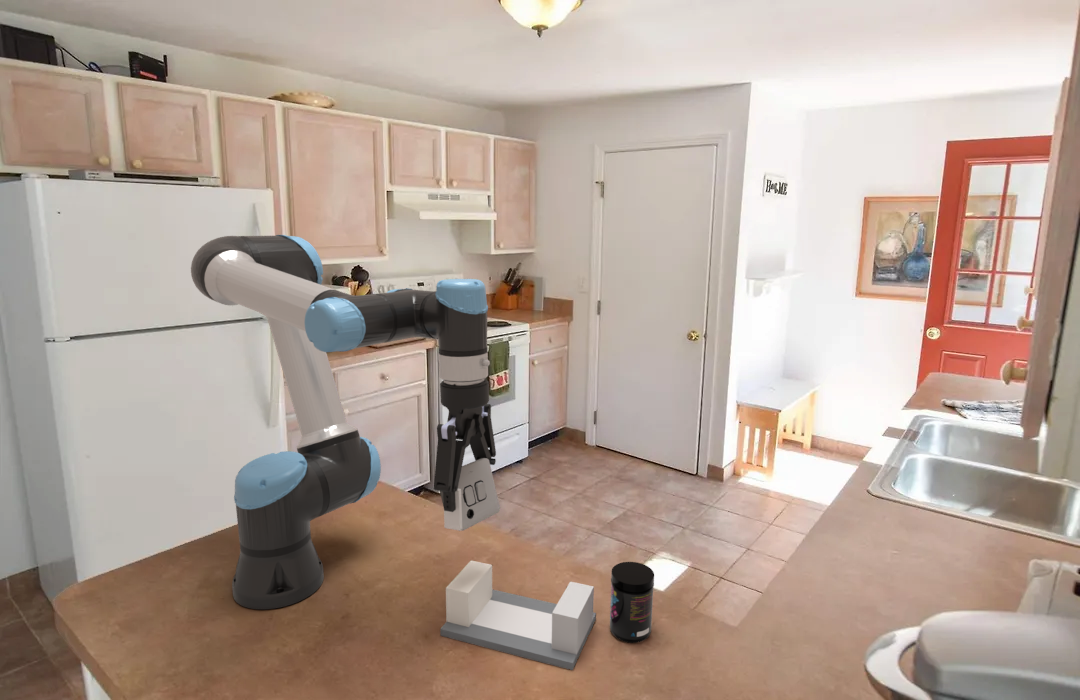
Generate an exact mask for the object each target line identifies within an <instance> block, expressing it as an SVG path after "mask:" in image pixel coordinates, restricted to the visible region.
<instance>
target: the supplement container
mask: <svg viewBox="0 0 1080 700" xmlns="http://www.w3.org/2000/svg"><path fill="white" fill-rule="evenodd" d="M610 575H611V576H610V577H611V578H610V582H611V584H610V586H611V587H610V607H609V608H610V609H609V612H610V613H609V629H610V631H611V633H612V636H614V637H615V638H616V639H618V640H619V641H621V642H624V643H628V644H629V643H630V644H638V643H641V642H644V641H646V640H647V639H648V638H649V637H650V635H651V633H652V624H653V623H652V621H653V601H654V588H655V587H654V586H655V572H654V571H653V569H652V568H650V566H648V565H646V564H644V563H640V562H637V561H623V562H619V563H617V564H615V565H614V566H613V567H612V568H611V574H610Z"/></svg>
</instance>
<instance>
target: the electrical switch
mask: <svg viewBox="0 0 1080 700" xmlns="http://www.w3.org/2000/svg"><path fill="white" fill-rule="evenodd" d="M491 466H492V465H490V462H489V460H488V459H487V458H481V459H479V460H476V461H475V460H474V461H472V462H470V463H467V464H464V465H462V469H461V474H460V479H459V484H458V488H459V489H461V501H462V529H461V530H460V531H459V530H457V531H459V532H462V531H465V530H467V529H469V528H472V527H473V526H475V525H477V524H479V523H481V522H482V521H485V520H486V519H488V518H490V517H492V516H494V515H496V514H498V513H499V512H500V509H501V506H500V501H499V497H498V492H497V489H496V484H495V480H494V475H493V472H492V468H491ZM439 494H440V498H441V504H442V507H443V508H444V502H443V491H439Z"/></svg>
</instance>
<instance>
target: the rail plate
mask: <svg viewBox="0 0 1080 700" xmlns="http://www.w3.org/2000/svg"><path fill="white" fill-rule="evenodd" d="M594 593H595V586H592V585H588V584H583V583H579V582H576V581H575V582H574V581H569V583H568V584H567V587H566V588H565V590H564V591H563V593H562V595H561V597H560V598H559V600H558V602H557V603H554V602H551V601H550V602H549V601H545V600H541V599H537V598H532V597H528V596H523V595H520V594H519V595H518V594H515V593H510V592H505V591H501V590H497V589H493V565H492V564H490V563H484V562H482V561H481V562H480V561H475V560H471V559H470V561H469V562H468V563H467V564H466V565H465V566H464V567H463V569H462V570H461V571H460V572H459V573H458V574H457V575H456V576H455V577H454V579H452V581H451V582H449V584H448V585H447V586H446V587H445V607H446V608H445V611H446V615H445V617H446V619H445V620H446V621H445V623H444V624H443V625H442V626H441V628H440V637H444V638H449V639H451V640H456V641H459V642H463V643H467V644H471V645H475V646H479V647H483V648H486V649H489V650H494V651H498V652H502V653H505V654H508V655H509V654H510V655H513V656H518V657H521V658H523V659H528V660H531V661H535V662H536V661H537V662H539V663H543V664H547V665H550V666H555V667H559V668H562V669H565V668H566V669H567V670H569V669H570V671H573V670H574V669H575V666H576V663H577V662H578V660H579V657H580V655H581V653H582V650H583V649H584V647H583V646H585V644H586V641H587V640H588V638H589V636H588V635H590V633H591V631H592V630H593V626H594V625H593V624H595V623H596V620H597V612H594V595H595V594H594ZM594 622H595V623H594ZM587 637H588V638H587ZM577 659H578V660H577Z"/></svg>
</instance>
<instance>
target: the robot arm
mask: <svg viewBox="0 0 1080 700" xmlns="http://www.w3.org/2000/svg"><path fill="white" fill-rule="evenodd" d="M323 268H324V267H323V263H322V259H321V257H320V255H319V254H318V252H317V249H316V248H315V247H314V246H313V245H312V244H311V243H310V242H309V241H308V240H305V239H304V238H302V237H301V236H294V235H286V234H276V235H240V236H239V235H224V236H221V237H216V238H214V239H211V240H210V241H207V242H206V243H205V244H203V245H202V246H201V247H200V248H198V249H197V251H196V252H195V254H194V256H193V258H192V261H191V265H190V273H191V278H192V282H193V283H194V286H195V288H196V289H197V290H198V291H199V292H200V293H201V294H202V295H203V296H205V297H207V298H208V299H209V300H211V301H214V302H216V303H219V304H221V305H225V306H237V305H240V306H242V307H245V308H247V309H248V310H252V311H254V312H257V313H259V314H261V315H263V316H264V317H265V318H266V319H267V322H268V325H269V329H270V331H271V334H272V338H273V343H274V346H275V349H276V353H277V355H278V359H279V363H280V366H281V370H282V372H283V376H284V379H285V382H286V386H287V390H288V392H289V397H290V400H291V403H292V407H293V410H294V415H295V417H296V420H297V424H298V427H299V431H300V434H301V436H300V437H301V438H300V440H299V442H298V444H297V445H296V451H290V450H289V451H288V450H287V451H286V450H285V451H279V452H278V453H275V452H272V453H267V454H264V455H262V456H259V457H256V458H255V459H253V460H250V461H249V462H247V463H246V464H245V465H244V466H242V467H241V468H240V470H238V472H237V475H236V476H235V479H234V497H233V501H234V503H235V510H236V519H237V529H238V540H239V552H240V553H239V555H238V560H237V563H236V569H235V574H234V575H233V579H232V582H231V584H232V585H231V589H232V596H233V599H234V601H235V602H236V603H237V604H238V605H239V606H241V607H244V608H247V609H252V610H272V609H273V610H274V609H278V608H279V609H280V608H283V607H288V606H291V605H293V604H297V603H298V602H301V601H303V600H304V599H306V598H309V597H310V596H312V595H313V594H314V593H315V592H317V590H319V588H320V587H321V586H322V584H323V582H324V579H325V577H324V576H325V575H324V564H323V563H322V560H321V559H320V557H319V554H318V552H317V549H316V547H315V545H314V543H313V541H312V536H311V535H312V534H311V521H312V520H314V519H317V518H319V517H322V516H324V515H327V514H329V513H331V512H333V511H336V510H338V509H341V508H343V507H345V506H347V505H349V504H355V503H357V502H358V501H360V500H361V499H363V498H365V497H366V496H369V495H371V493H373V492H374V490H375V489H376V488H377V486H378V482H379V481H380V479H381V478H380V477H381V473H382V468H381V467H382V465H381V459H380V458H381V457H380V454H379V451H378V449H377V447H376V446H375V445H374V444H372V443H373V442H372V441H371V440H370V439H368V437H363V436H360V432H359V430H358V428H357V427H355V426H353V425H352V424H350V423H348V420H347V418H346V414H345V412H344V408H343V404H342V400H341V397H340V393H339V390H338V389H337V388H338V387H337V384H336V381H335V377H334V374H333V371H332V368H331V363H330V360H329V357H328V354H327V353H333V352H349V351H352V350H355V349H360V348H364V347H369V346H374V345H379V344H383V343H391V342H396V341H401V340H406V339H407V340H408V339H412V338H425V339H433V340H437V341H438V361H439V362H438V367H439V374H438V375H439V376H438V377H439V379H441V380H442V381H441V382H440V383H439V388H440V389H439V390H440V391H439V392H440V403H441V405H442V406H443V407H445V409H447V410H448V416H447V421H446V423H445V424H443V423H439V424H437V425H436V434H437V436H436V437H437V446H436V456H435V458H436V459H435V467H434V468H435V469H434V479H433V480H434V481H433V490H434V491H439V492H440V491H443V502H444V507H443V522H444V524H443V525H444V529H448V530H449V529H450V530H453V531H458V530H459V532H461V531H460V530H461V529H462V501H461V489H459V488H458V484H459V479H460V474H461V469H462V466H463V463H464V457H465V452H466V449H467V448H468V447H469V446H470V449H471V452H472V455H473V458H474V461H476V460H479V459H481V458H487V459H488V460H489V462H490V466H495V464H496V462H497V459H496V455H497V450H496V444H495V436H494V430H493V423H492V406H491V405H492V404H491V403H489V401H490V384H489V381H488V380H487V377H488V376H489V366H490V365H491V363H490V362H491V361H490V360H489V359H488V358H489V356H488V350H489V347H488V310H489V305H488V301H487V291H486V285H485V283H484V282H483V281H482V280H480V279H478V278H477V279H475V278H450V279H447V278H446V279H441V280H439V281H437V283H436V286H435V288H436V289H435V291H434V290H433V291H432V290H423V289H412V288H396V289H393V288H392V289H390V290H388V291H387V292H382V293H372V294H371V293H370V294H363V295H354V294H349V293H347V292H344V291H343V292H342V291H339V290H336V289H334V288H332V287H329V286H326V285H323V284H322V283H323V281H324V279H323V277H322V276H323V275H324V269H323Z"/></svg>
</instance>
